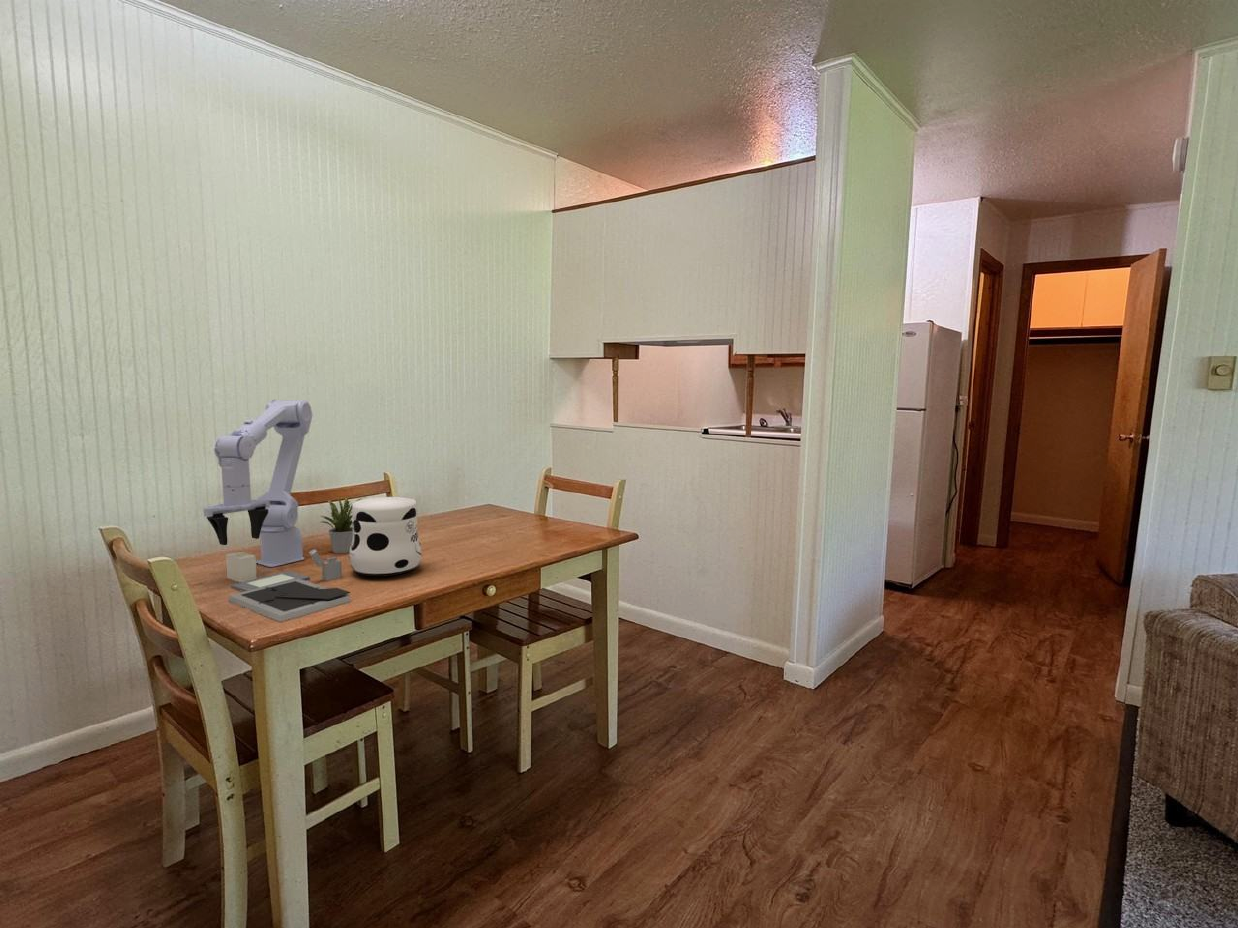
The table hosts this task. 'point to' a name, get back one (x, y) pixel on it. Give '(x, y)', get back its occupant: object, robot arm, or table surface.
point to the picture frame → (290, 599)
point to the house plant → (341, 527)
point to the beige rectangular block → (241, 566)
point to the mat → (268, 580)
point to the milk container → (384, 536)
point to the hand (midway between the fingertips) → (239, 541)
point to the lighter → (327, 566)
